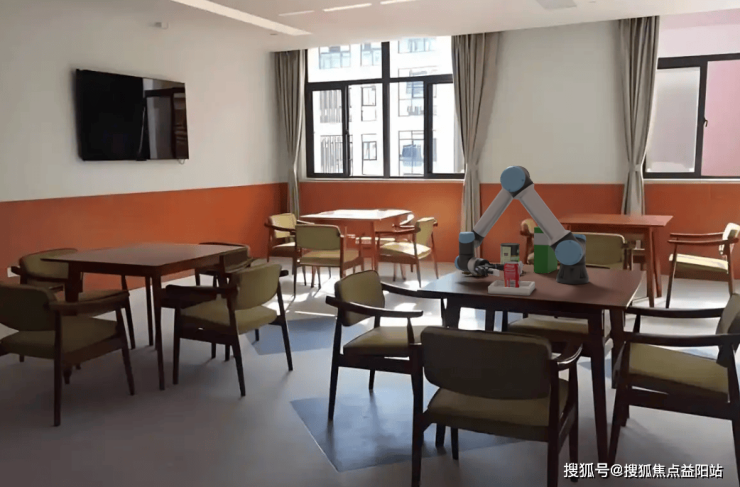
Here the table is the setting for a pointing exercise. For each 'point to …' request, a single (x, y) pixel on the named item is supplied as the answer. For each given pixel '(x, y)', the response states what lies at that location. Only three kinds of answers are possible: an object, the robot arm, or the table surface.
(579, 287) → the table surface
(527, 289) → the tray
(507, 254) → the coffee can
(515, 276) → the soda can
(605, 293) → the table surface
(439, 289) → the table surface
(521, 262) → the elephant figurine
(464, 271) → the ceramic sculpture
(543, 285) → the table surface
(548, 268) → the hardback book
